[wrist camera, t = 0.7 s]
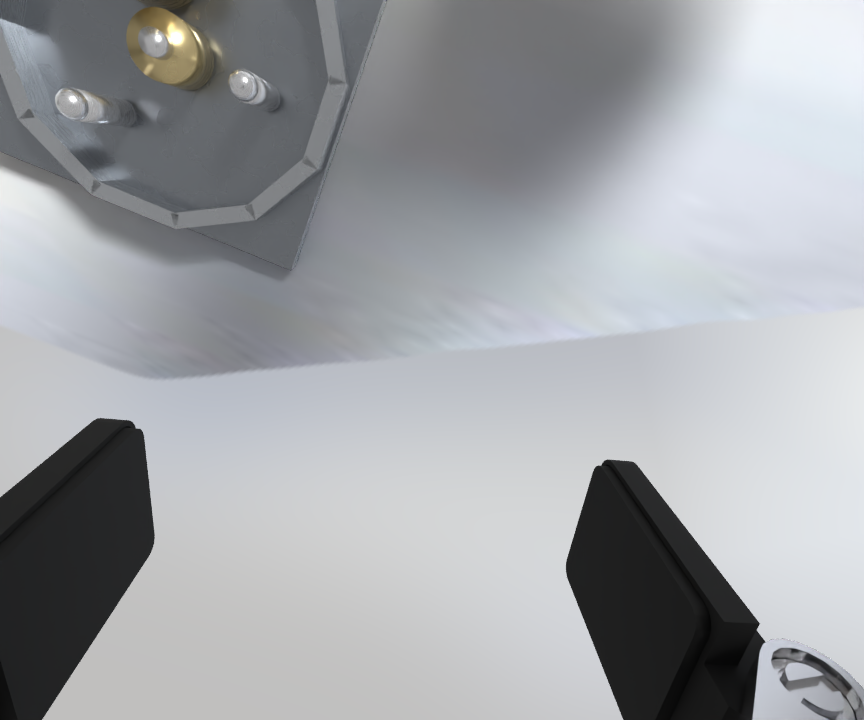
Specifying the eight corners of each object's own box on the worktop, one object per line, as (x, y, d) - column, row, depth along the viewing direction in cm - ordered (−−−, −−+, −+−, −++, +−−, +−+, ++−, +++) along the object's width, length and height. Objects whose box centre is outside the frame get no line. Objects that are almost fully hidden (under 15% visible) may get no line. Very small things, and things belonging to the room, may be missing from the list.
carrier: (50, -228, 26) (-77, -366, 19) (397, -32, 30) (395, -89, 23) (5, 147, 32) (-100, 142, 25) (295, 266, 36) (269, 290, 29)
